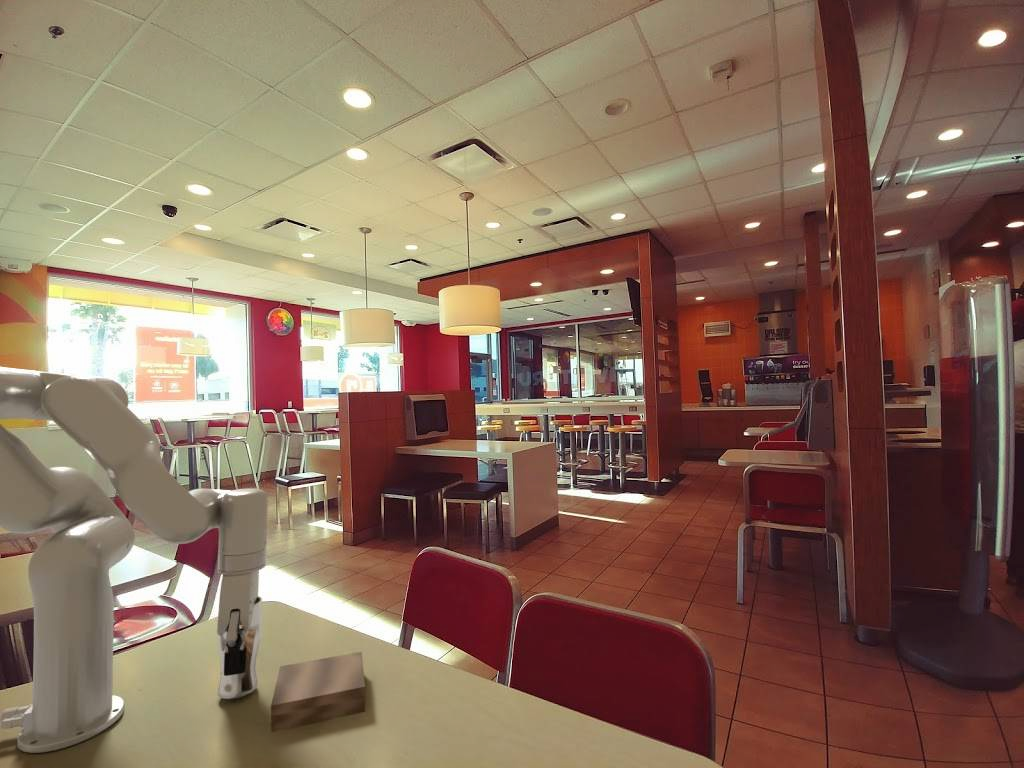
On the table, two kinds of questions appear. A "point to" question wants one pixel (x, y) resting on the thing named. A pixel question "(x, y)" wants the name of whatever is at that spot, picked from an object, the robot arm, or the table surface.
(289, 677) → the walnut shelf
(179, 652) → the table surface
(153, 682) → the table surface
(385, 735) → the table surface
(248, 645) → the beer glass
